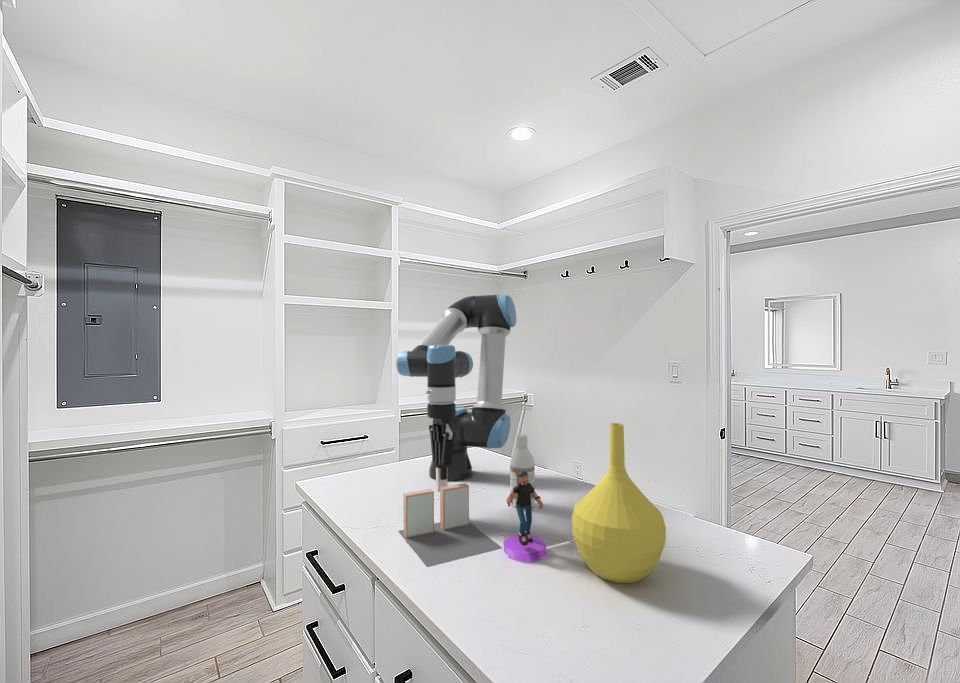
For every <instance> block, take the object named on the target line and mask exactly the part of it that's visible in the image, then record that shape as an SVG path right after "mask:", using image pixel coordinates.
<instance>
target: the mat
mask: <svg viewBox="0 0 960 683" xmlns="http://www.w3.org/2000/svg"><path fill="white" fill-rule="evenodd" d="M397 532H398V533H399V534H400V536H401V537H402V538H403V540H405V541H406V543H407V544H408V545H409V547H410V548H411V549H412V551H413V552H414V553H415V554H416V555H417V556H418V558H419V559H420V560H421V562H422V563H423V564H424V565H425V566H426V567H427V568H429V567H433V566H437V565H442V564H445V563H449V562H453V561H457V560H461V559H466V558H469V557H473V556H476V555H481V554H484V553H488V552H492V551H496V550H500V549H503V547H502V546H500V544H498V543H497V542H495V541H494V540H493V539H492V538H490V537H489V536H488V535H487V534H486V533H484V532H483V531H482V530H481V529H479V528H478V527H477V525H474V524H473V523H472V522H471V521H469V525H466V526H461V527H457V528H452V529H447V530H443V529H442V528H440V521H439V522H434V532H433V533H429V534H424V535H419V536H415V537H410V538H406V537H405V536H404V529H400V530H398V531H397Z"/></svg>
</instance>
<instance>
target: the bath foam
mask: <svg viewBox="0 0 960 683" xmlns="http://www.w3.org/2000/svg"><path fill="white" fill-rule="evenodd" d="M509 463H510V464H509V465H510V466H509V478H510V479H509V480H510V481H509V483H510V484H509V485H510V486H509V493H510V492H511V491H512V490H513V488H514V487H515V486H516V485H518V484H519V483H521V481H520V480H519V477H518V476H517V475H519V473H520V472H521V471H526V472H527V473H528V476H529V477H528V483H531V485H532V486H533V488H534V489H536V486H535V485H536V483H535V482H536V480H535V479H536V478H535V477H536V476H535V471H536V470H535V466H536V464H535V460H534V456H533V454H532V453H531V452H530V450H529V448H528V435H527V434H522V433H521V434H517V435H516V449H515V451H514V452H513V453H512V456H511V457H510V462H509ZM517 498H518V493H516V494H515V495H514V497H513V505H512V504H511V503H510V507H513V508H515V509H517V508H516V501H517ZM535 501H536V500H535V498H534V497H533V495H532V494H531V503H532V504H531V507H532V508H533V507H534V506H535V504H536V503H535ZM523 510H525V508H523Z"/></svg>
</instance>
